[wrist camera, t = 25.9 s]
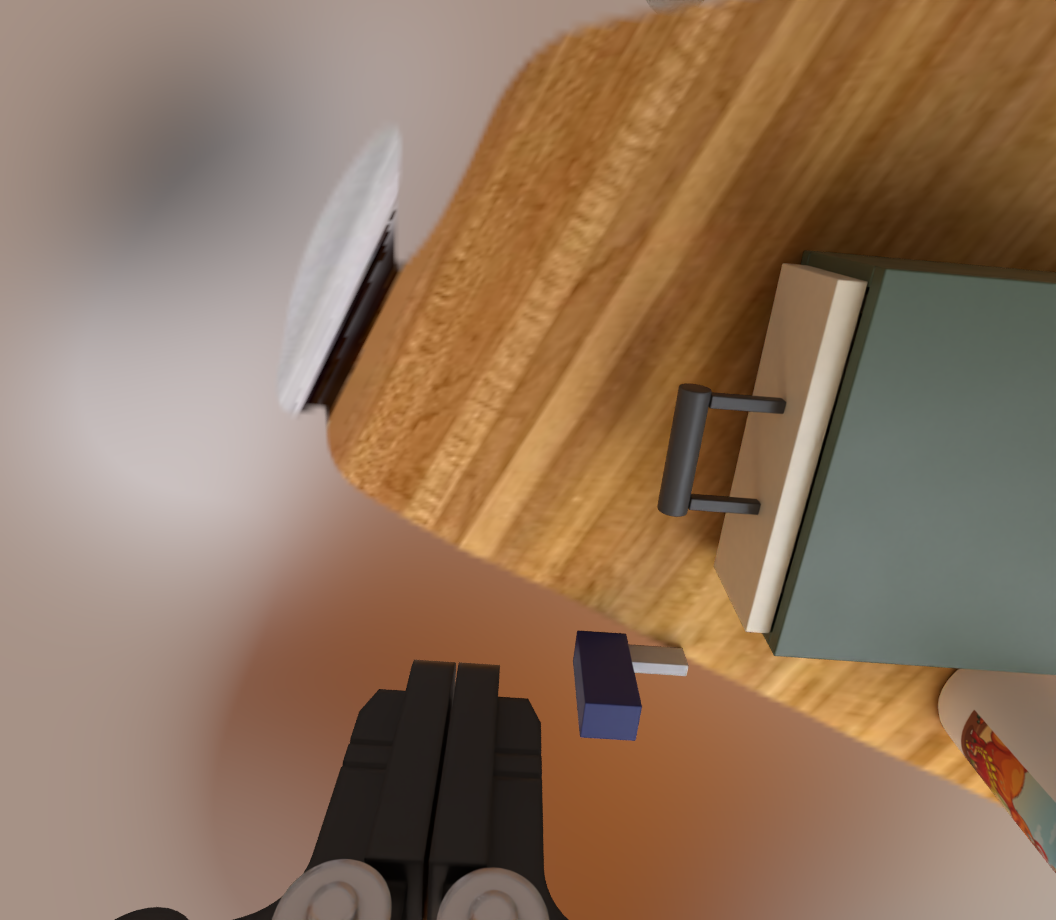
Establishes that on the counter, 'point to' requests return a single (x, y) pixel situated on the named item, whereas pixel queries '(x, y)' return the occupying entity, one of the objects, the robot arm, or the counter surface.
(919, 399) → the cabinet
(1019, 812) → the milk bottle
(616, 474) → the counter surface
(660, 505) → the drawer
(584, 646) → the blue block with post
